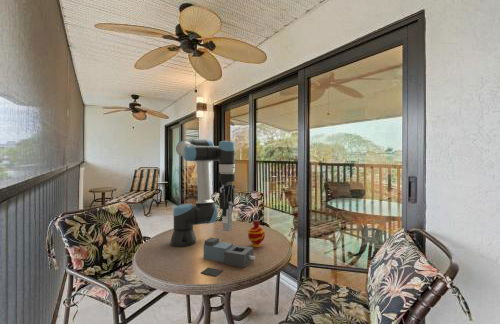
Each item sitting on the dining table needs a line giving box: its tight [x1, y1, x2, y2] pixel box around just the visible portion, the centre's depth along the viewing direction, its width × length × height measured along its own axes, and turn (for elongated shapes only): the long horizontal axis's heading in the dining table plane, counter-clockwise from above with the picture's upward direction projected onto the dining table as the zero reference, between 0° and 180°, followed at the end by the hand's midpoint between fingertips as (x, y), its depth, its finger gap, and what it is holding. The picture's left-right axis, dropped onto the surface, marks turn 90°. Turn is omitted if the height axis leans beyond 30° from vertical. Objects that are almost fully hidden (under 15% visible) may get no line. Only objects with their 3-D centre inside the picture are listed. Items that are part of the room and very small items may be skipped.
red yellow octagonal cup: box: [247, 219, 266, 248], centre depth 152 cm, size 10×10×15 cm
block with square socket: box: [203, 236, 256, 268], centre depth 131 cm, size 27×11×9 cm, turn 66°
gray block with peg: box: [222, 201, 234, 232], centre depth 123 cm, size 3×6×14 cm, turn 68°
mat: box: [200, 267, 224, 277], centre depth 117 cm, size 8×6×1 cm
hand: (227, 221), depth 123 cm, fingers closed on gray block with peg, 3 cm apart
